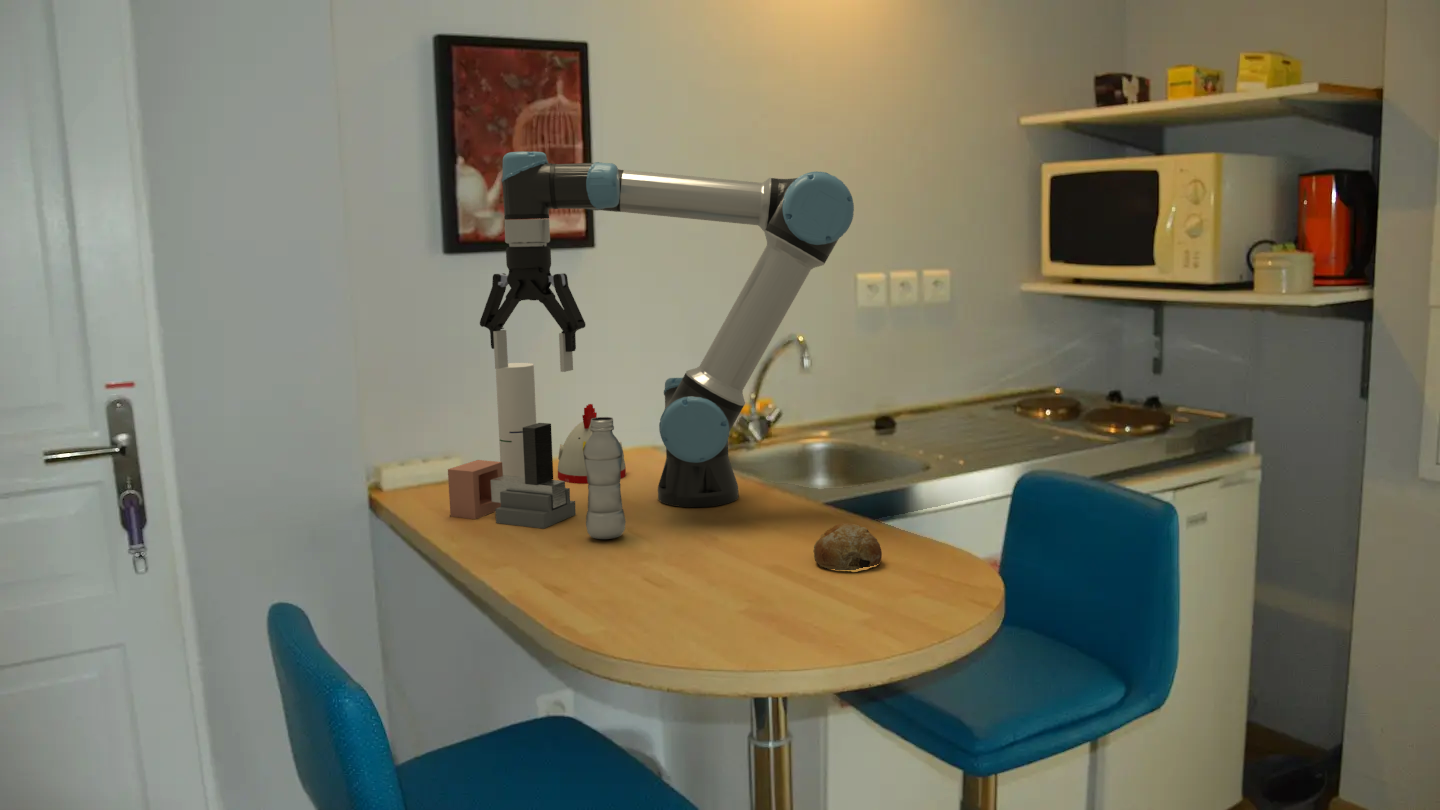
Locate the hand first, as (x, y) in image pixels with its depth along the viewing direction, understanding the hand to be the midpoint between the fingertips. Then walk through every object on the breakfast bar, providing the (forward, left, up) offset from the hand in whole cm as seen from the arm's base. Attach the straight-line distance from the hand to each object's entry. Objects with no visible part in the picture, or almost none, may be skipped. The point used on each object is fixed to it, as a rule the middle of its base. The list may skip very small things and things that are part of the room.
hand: (533, 369), depth 194 cm
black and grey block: (+2, 0, -24) cm, 24 cm away
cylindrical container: (+15, -15, -27) cm, 34 cm away
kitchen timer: (+10, -33, -27) cm, 44 cm away
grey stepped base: (+1, 0, -27) cm, 27 cm away
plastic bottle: (-17, +6, -27) cm, 32 cm away
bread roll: (-58, +4, -27) cm, 64 cm away
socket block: (+14, 0, -27) cm, 30 cm away
